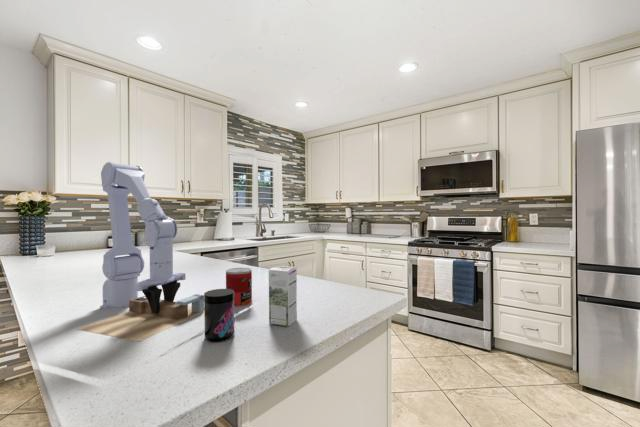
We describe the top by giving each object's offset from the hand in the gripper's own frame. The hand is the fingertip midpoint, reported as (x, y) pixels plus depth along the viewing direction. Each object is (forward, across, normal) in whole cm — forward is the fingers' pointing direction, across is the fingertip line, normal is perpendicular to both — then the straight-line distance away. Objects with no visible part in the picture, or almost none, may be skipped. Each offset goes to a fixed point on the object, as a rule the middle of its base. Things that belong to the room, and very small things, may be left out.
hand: (161, 310), depth 84 cm
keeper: (+1, +3, -8) cm, 8 cm away
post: (+2, 0, +8) cm, 8 cm away
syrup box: (+2, +10, -33) cm, 35 cm away
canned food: (+2, +17, -13) cm, 22 cm away
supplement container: (+2, -4, -24) cm, 25 cm away
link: (+1, 0, +1) cm, 1 cm away
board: (+2, -4, 0) cm, 4 cm away
